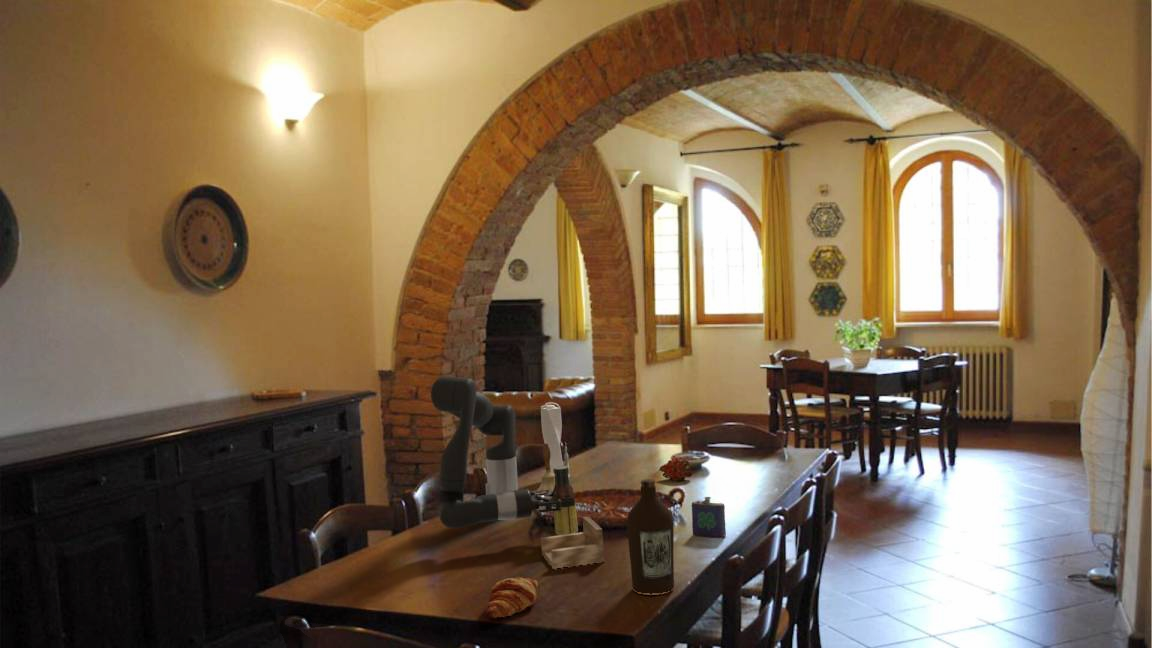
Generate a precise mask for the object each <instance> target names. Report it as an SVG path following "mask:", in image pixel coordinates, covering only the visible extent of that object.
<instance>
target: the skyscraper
mask: <svg viewBox="0 0 1152 648" xmlns="http://www.w3.org/2000/svg"><path fill="white" fill-rule="evenodd" d="M555 405H556V406H555ZM540 417H541V419H540V421H541V422H540V424H541V432H542V438H543V444H546V443H547V444H548V446H549V448H550V453H551V457H550V470H551V473H553V474H554V467H557V466H567V467H568V470H569V471H568V479H569V480H570V479H571V474H570V466H569V465H570V464H569V454H568V447H567V442H564V454H563V457H562V449H561V440H562V431H563V430H562V429H563V425H562V423H563V422H562V410H561V406H560V405H559V404H558V403H556V402H553V401H550V402H546V403H545V404H544V405H541V406H540ZM563 458H564V463H563ZM544 470H545V469H544ZM544 472H545V473H546V470H545V471H544ZM545 473H544V474H545Z"/></svg>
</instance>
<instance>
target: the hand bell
mask: <svg viewBox="0 0 1152 648" xmlns="http://www.w3.org/2000/svg"><path fill="white" fill-rule="evenodd" d="M542 448H543V449H542V457H543V461H544V465H545V466H544V468H545V469H544V470H546V473H543V474H542V475H541V483H540V485H539V487H538V488H537V489H536V492H537V491H545V490H549V491H553V489H554V486H555V474H553V473H551V470H550V457H551V453H550V448H549V446H548V444H547V443H546V444H545V443H543V447H542Z"/></svg>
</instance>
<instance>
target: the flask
mask: <svg viewBox="0 0 1152 648" xmlns="http://www.w3.org/2000/svg"><path fill="white" fill-rule="evenodd" d="M711 498H712V497H710V496H705V497H704V500H699V499H698V500H697V501H693V502H691V514H692V515H691V520H692V521H691V523H692V525H691V526H692V528H691V529H692V536H694V537H699V538H700V537H701V538H711V539H712V538H714V539H715V538H716V539H724V538H726V537H727V536H726V535H727V531H726V514H725V513H726V512H725V510H726V508H725V507H726V506H725V504H724V503H721V502H719V503H718V502H717V503H715V502H711V501H710V499H711Z"/></svg>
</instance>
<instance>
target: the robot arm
mask: <svg viewBox="0 0 1152 648" xmlns="http://www.w3.org/2000/svg"><path fill="white" fill-rule="evenodd" d="M430 399H431V403H432V404H433V406H434V408H435V409H436V410H437V411H441V412H446V413H450V414H451V415H453V416H455V417H457V418H458V419H459V423H458V426H457V428H456V431H455V433H454V434H453V436H452V437H451V439H450V440H449V442H448V443H447V445H446V446H445V448H444V450H443V452H442V454H441V457H440V463H439V465H440V467H439V489H438V490H439V491H438V496H437V497H438V499H437V513H438V517H439V520H440V522H441V524H442V525H443V526H445V527H446V528H449V529H461V528H466V527H469V526H473V525H476V524H478V523H483V522H485V523H486V522H494V521H509V520H518V519H526V518H530V517H532V515H533V511H534V510H538V513H540V514H541V513H551V512H554V511H560V510H561V508H562V507H570V506H575V504H576V499H574V498H575V497H574V498H573V497H572V498H564V499H554V497H553V491H549V490H545V491H537V490H536V491H530V489H527V488H525V489H519V484H518V480H519V479H518V466H517V450H516V449H517V441H516V440H517V438H516V436H517V435H516V413H515V412H516V411H515V409H514V407H513V406H512V405H509V404H501V405H500V404H498V405H497V404H496V405H495V404H494V405H493V403H492V400H490V398H489V397H488V396H486V395H485V394H484V393H482V392H479V391H477V386H476V383H475V381H474V380H473V379H472V378H467V377H455V376H441V377H439V378H437V379H436V380H435V381H434V382H433V383H432V386H431V389H430ZM473 427H475V428H476V429H477V430H478V431H479V432H480V433H482V434H483V435H485V436H493V437H494V436H496V437H498V436H502V441H500V442H499V443H497V444H495V445H492V446H489V447H488V448H487V449H486V450H485V458H486V459H485V460H486V474H487V476H486V477H487V482H486V483H485V494H482V495H479V496H476V497H475V498H474V499H470V500H465V501H464V496H465V495H464V494H465V493H464V491H465V488H466V484H467V471H468V456H469V455H468V452H469V446H470V439H471V434H472V428H473ZM554 504H556V506H555V505H554Z"/></svg>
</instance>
